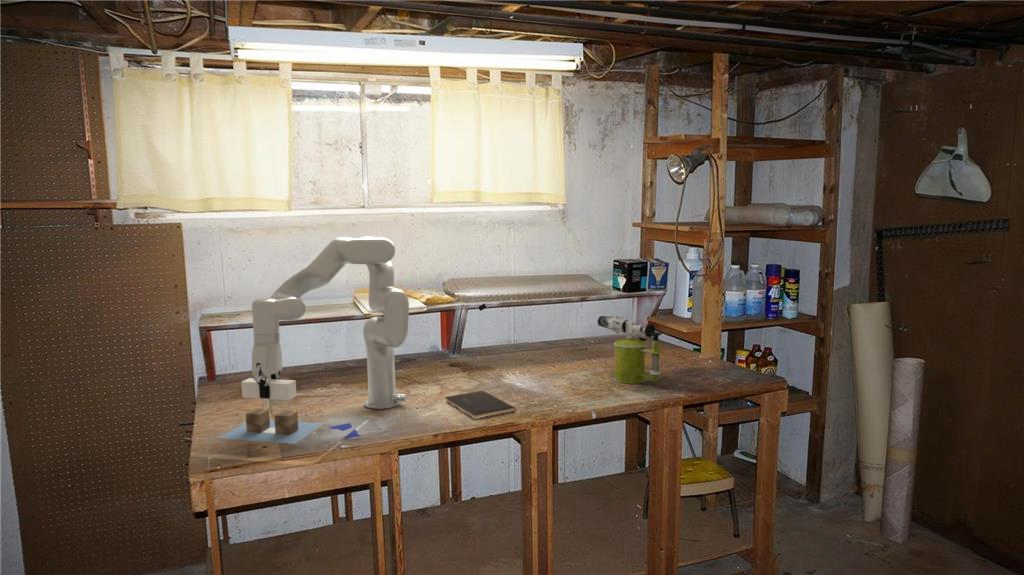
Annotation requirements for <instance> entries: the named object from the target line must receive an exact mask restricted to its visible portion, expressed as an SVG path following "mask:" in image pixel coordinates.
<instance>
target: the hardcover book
mask: <svg viewBox="0 0 1024 575" xmlns="http://www.w3.org/2000/svg"><path fill="white" fill-rule="evenodd" d="M445 400H446V402H447V401H448V402H450V403H451V404H453V405H455V406H456V407H458V408H459V409H461V410H463V411H464V412H466V413H468V414H469V415H471V416H473V417H474V418H475V417H479V416H483V415H488V414H494V413H499V412H505V411H511V410H515V411H516V407H515V406H513V405H511V404H509V403H508V402H505V401H504V400H502V399H499V398H498V397H496V396H494V395H492V394H490V393H489V392H488V391H487V392H486V391H485V390H479V391H472V392H467V393H461V394H454V395H450V396H449V395H448V396H445ZM448 402H447V403H448ZM451 404H450V405H451ZM453 405H452V406H453ZM456 407H455V408H456ZM459 409H458V410H459ZM461 410H460V411H461ZM464 412H463V413H464ZM469 415H468V416H469Z"/></svg>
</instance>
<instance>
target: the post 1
mask: <svg viewBox="0 0 1024 575" xmlns="http://www.w3.org/2000/svg"><path fill="white" fill-rule="evenodd" d="M270 420H271V419H270V409H267V408H253V409H252V410H249V411H248V412H246V413H245V423H246V427H247V432H255V433H262V432H263V431H265V430H267V429H268V428H270Z"/></svg>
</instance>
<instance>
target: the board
mask: <svg viewBox="0 0 1024 575" xmlns="http://www.w3.org/2000/svg"><path fill="white" fill-rule="evenodd" d="M323 425H325V423H318V422H317V423H316V422H303V421H301V422H300V421H298V430H297V431H295V432H294V433H292V434H291V435H282V434H275V419H274V420H272V419H270V428H268V429H267V430H265V431H263V432H262V433H255V432H247V427H246V422H244V423H242V424H241V425H240V426H237V427H235V428H233V429H231V430H230V431H228V432H227V433H225V434H223V435H221V436H219V437H218V439H224V440H236V441H237V440H239V441H251V442H264V443H276V444H277V443H278V444H289V445H295V444H297V443H298V442H301V440H303V439H304V438H306V437H307V436H309V435H310V434H312V433H313V432H315V431H316V430H317V429H319V428H321V427H322V426H323Z"/></svg>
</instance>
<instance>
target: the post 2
mask: <svg viewBox="0 0 1024 575" xmlns="http://www.w3.org/2000/svg"><path fill="white" fill-rule="evenodd" d="M298 414H299V413H298V411H297V410H285V409H283V410H281V411H279V412H278V413H276V414H274V420H275V434H282V435H291V434H292V433H294V432H295V431H297V430H298V422H299V416H298Z"/></svg>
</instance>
